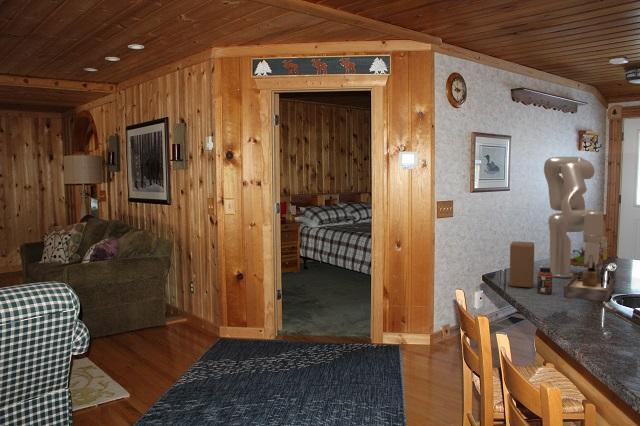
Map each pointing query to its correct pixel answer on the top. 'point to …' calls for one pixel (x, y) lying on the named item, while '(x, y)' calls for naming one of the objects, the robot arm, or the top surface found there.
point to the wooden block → (522, 264)
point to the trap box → (587, 290)
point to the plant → (580, 259)
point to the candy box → (603, 249)
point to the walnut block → (590, 278)
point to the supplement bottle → (544, 281)
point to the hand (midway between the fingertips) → (591, 280)
